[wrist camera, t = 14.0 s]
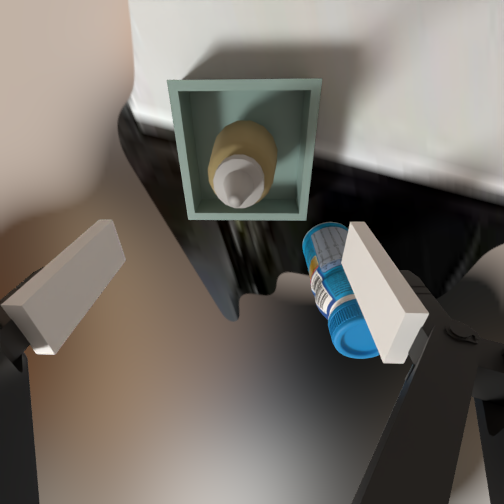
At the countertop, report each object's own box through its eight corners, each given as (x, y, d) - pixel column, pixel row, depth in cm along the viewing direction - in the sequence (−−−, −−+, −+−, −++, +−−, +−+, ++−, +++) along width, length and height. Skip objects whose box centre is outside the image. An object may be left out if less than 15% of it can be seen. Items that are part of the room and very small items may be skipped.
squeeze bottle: (220, 109, 33) (186, 134, 18) (283, 123, 34) (300, 158, 19) (213, 173, 37) (180, 235, 22) (269, 184, 38) (273, 252, 23)
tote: (181, 80, 32) (166, 80, 27) (312, 78, 32) (322, 78, 27) (197, 202, 41) (188, 219, 36) (300, 203, 41) (306, 220, 36)
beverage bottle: (333, 209, 41) (383, 298, 24) (362, 243, 44) (423, 343, 27) (290, 240, 44) (309, 338, 28) (320, 270, 47) (352, 374, 31)
